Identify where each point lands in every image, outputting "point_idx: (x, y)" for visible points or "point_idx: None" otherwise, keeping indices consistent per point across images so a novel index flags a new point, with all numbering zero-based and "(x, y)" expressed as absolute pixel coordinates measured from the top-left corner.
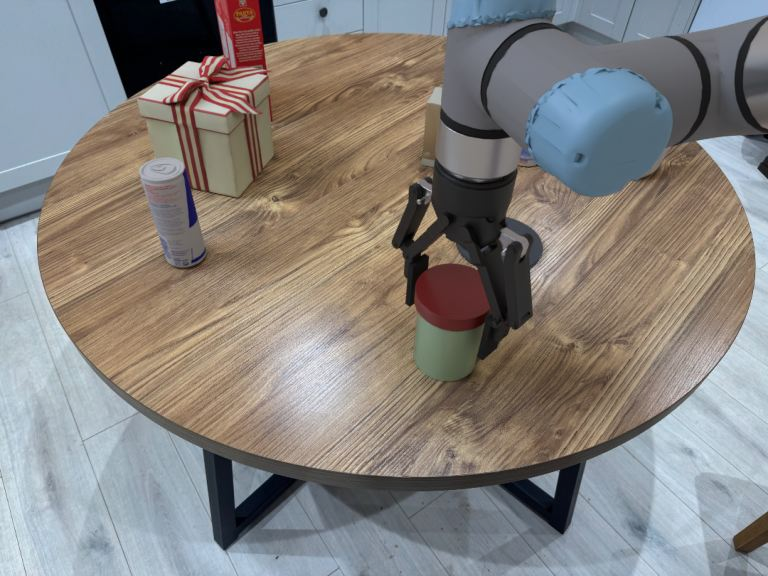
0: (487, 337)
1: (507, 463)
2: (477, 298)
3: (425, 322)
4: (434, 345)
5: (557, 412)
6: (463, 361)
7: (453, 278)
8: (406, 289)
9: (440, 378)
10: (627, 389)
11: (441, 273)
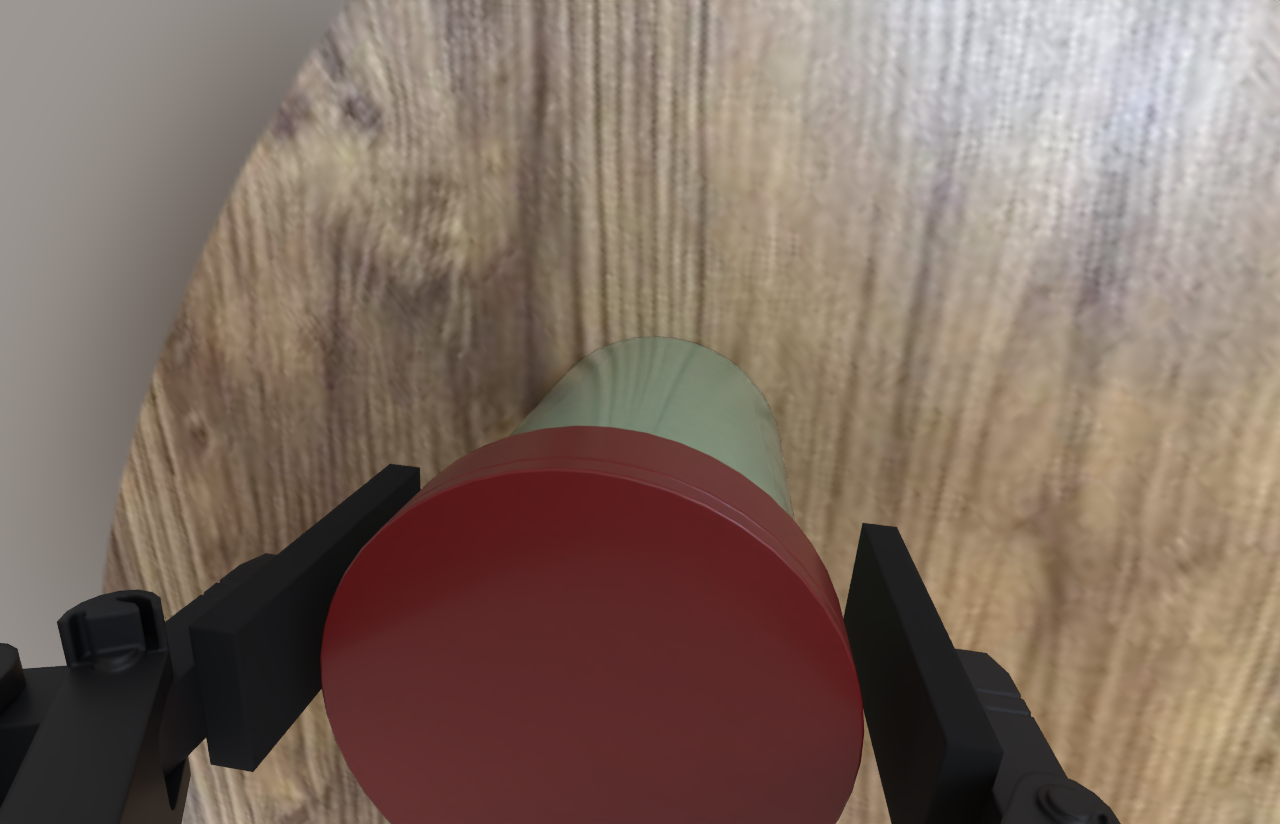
0: (290, 544)
1: (218, 225)
2: (431, 738)
3: None
4: (596, 394)
5: (249, 496)
6: None
7: (655, 797)
8: (924, 586)
9: (591, 354)
10: None
11: (750, 794)
